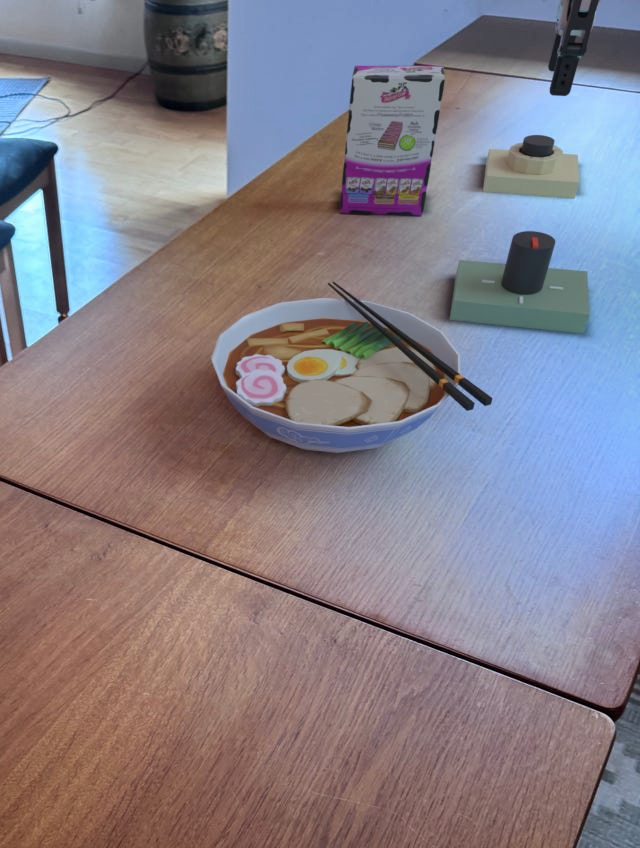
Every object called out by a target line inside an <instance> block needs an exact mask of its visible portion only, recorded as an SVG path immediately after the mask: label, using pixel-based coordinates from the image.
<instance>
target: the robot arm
mask: <svg viewBox="0 0 640 848" xmlns="http://www.w3.org/2000/svg"><path fill="white" fill-rule="evenodd" d="M600 3H601V0H559V3H558V5H557V11H556V22H557V23H555V26H554V28H555V37H554V40H553V44H552V45H553V46H552V49H551V53H550V57H549V60H548V65H547V69H548V71H549V72H553V74H552V78H551V81H550V85H549V86H550V87H549V94H550V95H551V96H555V97H567V96H568V95H570V93H571V91H572V88H573V84H574V80H575V76H576V72H577V69H578V65H579V62H580V59H582V57H584V56H585V53H587V50H588V42H589V39H590V34H591V32H592V30H593V29H594V25H595V20H596V14H597V9H598V7H599V4H600ZM577 37H578V38H579V41H578V42H576V39H577Z"/></svg>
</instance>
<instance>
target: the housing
mask: <svg viewBox="0 0 640 848" xmlns="http://www.w3.org/2000/svg"><path fill="white" fill-rule="evenodd" d="M522 144H523V142H517V143H515V144H514V145H511V146H510V147H509V149H497V148H495V149H494V148H489V149H488V153H487V156H486V157H487V158H486V162H485V170H484V178H483V184H482V185H483V186H482V193H494V194H506V195H521V196H533V197H546V198H557V199H559V198H560V199H573V200H575V199H576V196H577V192H578V189H579V186H580V170H579V169H580V168H579V154H574V153H564V150H563V149H561V148H560V147H558V146H557V145H555V144H554V146H553V149H552V153H551V156H548V157H530V156H527V155H523V154H522V153H520V152H521V148H522Z"/></svg>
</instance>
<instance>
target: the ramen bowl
mask: <svg viewBox="0 0 640 848" xmlns="http://www.w3.org/2000/svg"><path fill="white" fill-rule="evenodd" d="M327 285H328V286H329V287H330V288H331V289H332V290H333V291H334V292H336V293H337V294H338V295H339V296H340V297H341V298H330V297H319V298H309V299H299V300H292V301H283V302H282V301H281V302H278V303H275V304H273V305H270V306H267V307H264V308H261V309H259V310H256V311H253V312H251V313H247V314H245V315H243V316H242V317H240V318H239V319H238V320H236V321H235V322H233V323H232V325H230V326H229V327H228V328H227V329H225V330H224V331H222V332H221V333H220V334H219V335H218V338H217V341H216V344H215V347H214V349H213V353H212V355H211V358H210V359H211V363H212V365H213V366H212V367H213V368H214V371H215V373H216V376H217V378H218V381H219V384H220V386H221V388H222V389H223V391H224V393H225V395H226V398H227V399H228V401H229V402H230V403H231V404H232V406H233V407H234V408H235V409H236V412H238V413H240V415H242V417H244V418H245V419H246V420H247V421H249V422H250V423H251V424H252V425H253V426H255V427H256V428H257V429H259V430H260V431H261V432H263V433H264V434H265V435H266V436H268V437H269V438H272V439H274V440H277V441H280V442H282V443H285V444H288V445H291V446H293V447H296V448H298V449H301V450H306V451H314V452H323V453H324V452H325V453H335V454H340V453H349V452H356V451H363V450H364V451H365V450H373V449H378V448H380V447H383V446H385V445H386V444H389V443H392V442H393V441H395V440H397V439H400V438H402V437H404V436H407V435H408V434H410V433H411V432H413V431H415V430H416V429H418V428H419V427H420V426H422V425H423V424H425V422H427V420H429V419H430V418H431V417H432V416H433V415H434V414H435V412H436V411H437V410H438V409H439V408H440V407H441V405H442V404H444V402H445V401H446V400H447V398H449V396H450V397H451V398H452V399H453V400H454V401H455V402H456V403H458V404H459V406H461V408H463V409H464V410H465V411H466V412H468V411H473V410H474V407H475V405H476V404H475V402H474V401H473V400H472V399H471V398H470V397H468V396H467V395H466V394H464V393H463V392H462V391H461V390H460V389H458V388H457V387H458V386H459V387H460V388H462V389H463V390H464V391H465V392H467V393H468V394H469V395H471V397H473V398H474V399H475V400H477V401H478V402H479V403H481V404H482V405H483V406H484V407H487V406H491V405H492V402H493V399H494V398H493V397H492V396H490V395H489V394H488V393H486V392H485V391H484V390H483V389H481V388H480V387H478V386H477V385H475V384H474V383H473V382H471V381H470V380H469V379H467V378H466V377H464V376H462V355H461V353H460V352H459V351H458V350H457V348H456V347H455V345H454V344H453V343H452V342H451V341H450V339H449V337H447V335H446V334H445V332H444V331H443V330H441V329H439V328H437V327H436V326H434V325H433V324H430V323H428V322H427V321H425V320H423V319H422V318H420V317H418V316H416V315H414V314H413V313H411V312H408V311H405V310H401V309H398V308H395V307H391V306H388V305H384V304H381V303H377V302H373V301H369V300H361V299H358V298H356V297H355V296H354V295H352V293H350V292H349V291H347V290H346V289H344V288H343V287H342V286H340V285H339V284H338V283H336V281H332V284H331V283H330V282H327ZM333 285H334V286H333ZM341 291H342V292H341ZM343 293H344V294H345V295H344V294H343ZM346 295H347V296H346Z"/></svg>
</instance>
